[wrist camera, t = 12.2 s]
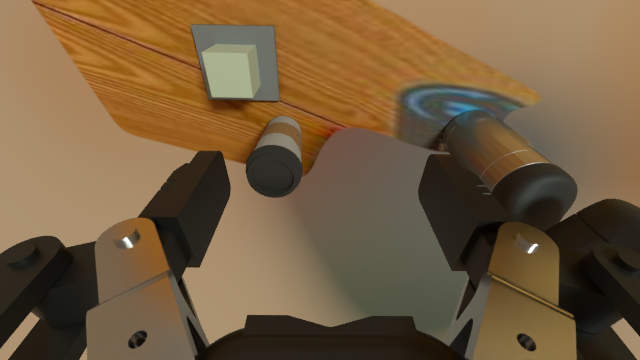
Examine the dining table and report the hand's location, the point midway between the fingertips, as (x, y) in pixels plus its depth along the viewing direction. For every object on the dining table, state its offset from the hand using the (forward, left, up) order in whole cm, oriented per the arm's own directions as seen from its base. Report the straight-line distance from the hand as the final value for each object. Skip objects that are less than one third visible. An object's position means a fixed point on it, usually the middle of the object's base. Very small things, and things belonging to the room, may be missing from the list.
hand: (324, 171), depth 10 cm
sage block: (+13, +4, -35) cm, 38 cm away
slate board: (+13, +4, -36) cm, 39 cm away
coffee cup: (+7, +16, -36) cm, 40 cm away
